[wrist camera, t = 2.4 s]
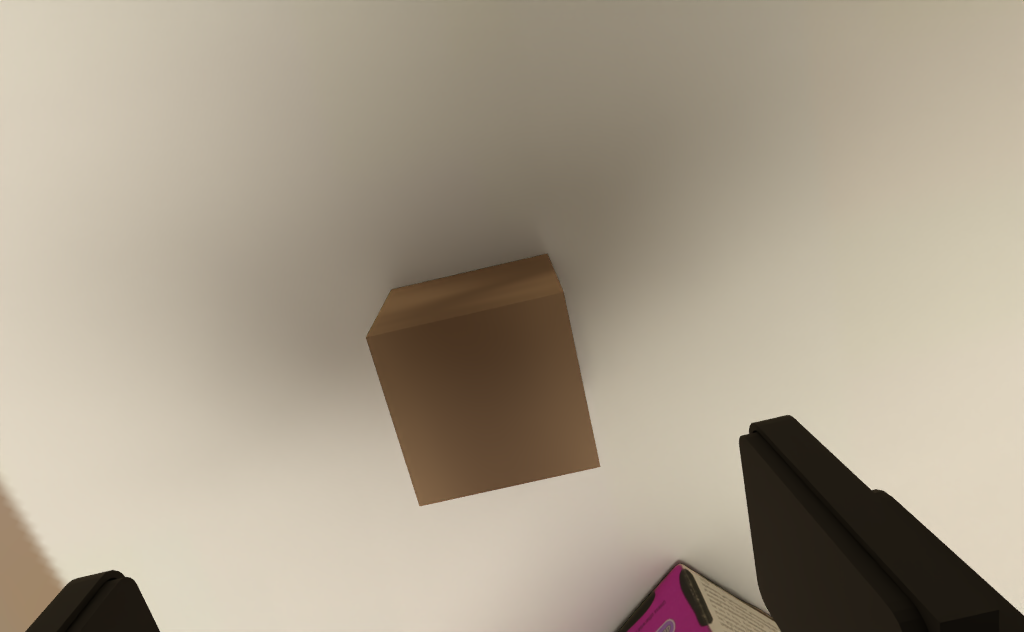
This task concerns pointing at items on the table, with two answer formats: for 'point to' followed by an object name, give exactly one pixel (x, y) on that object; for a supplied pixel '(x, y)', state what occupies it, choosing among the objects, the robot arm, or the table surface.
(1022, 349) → the table surface
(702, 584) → the candy bar box
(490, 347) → the walnut block
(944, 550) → the robot arm
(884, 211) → the table surface
